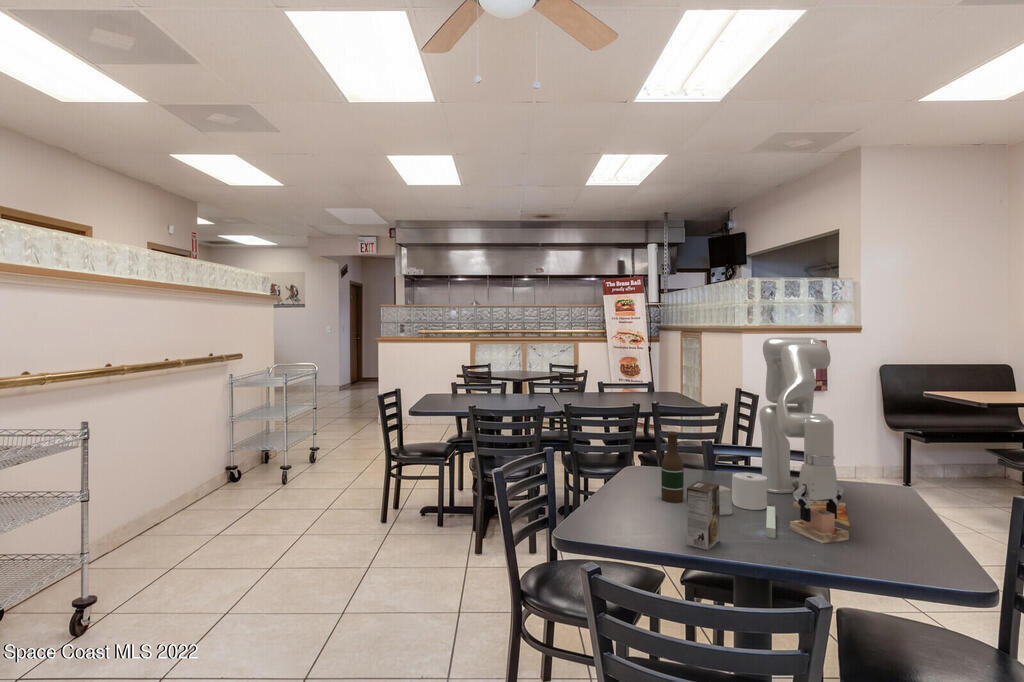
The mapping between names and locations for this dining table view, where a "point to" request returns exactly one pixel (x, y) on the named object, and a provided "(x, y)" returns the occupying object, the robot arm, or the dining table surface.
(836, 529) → the keyed cradle
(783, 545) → the dining table surface
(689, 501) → the coffee box
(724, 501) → the post
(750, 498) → the toilet tissue
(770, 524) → the pale green bar
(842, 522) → the pizza slice
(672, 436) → the beer bottle
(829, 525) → the block
